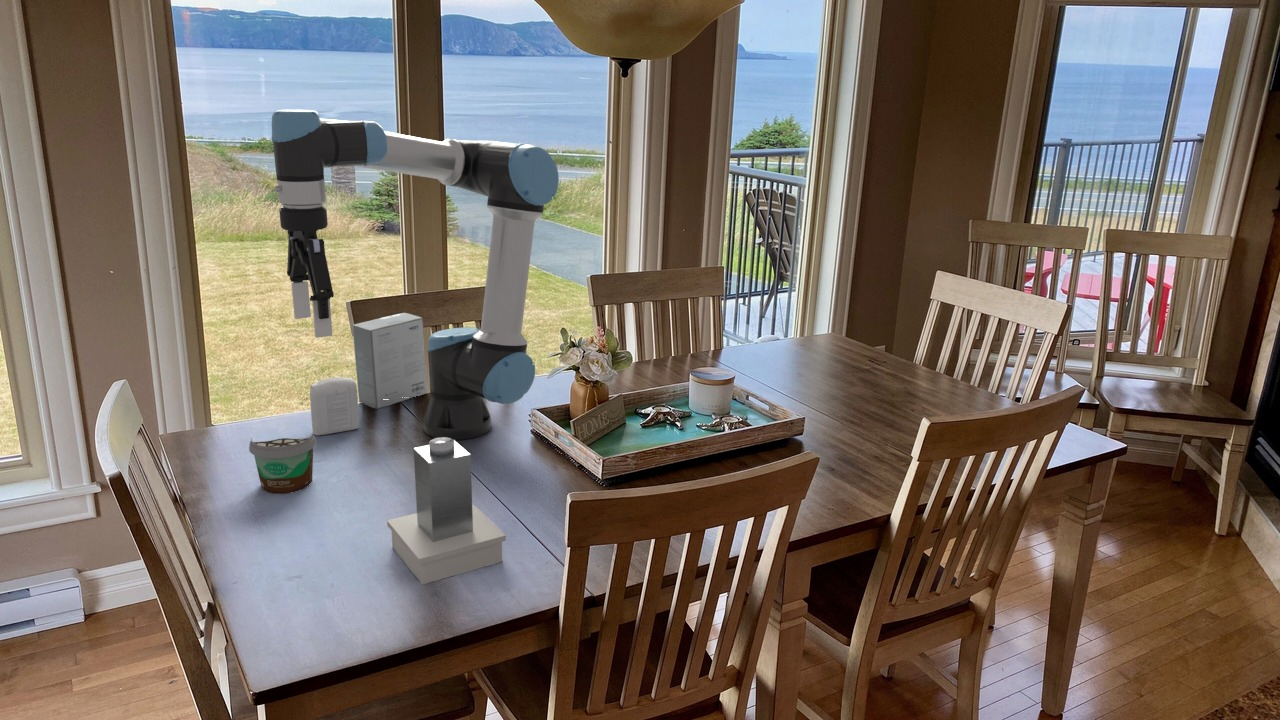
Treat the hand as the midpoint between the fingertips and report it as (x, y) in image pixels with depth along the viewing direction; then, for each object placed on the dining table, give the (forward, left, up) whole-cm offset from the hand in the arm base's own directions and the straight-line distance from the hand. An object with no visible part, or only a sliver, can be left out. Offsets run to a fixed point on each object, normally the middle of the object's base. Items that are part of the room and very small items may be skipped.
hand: (312, 326), depth 160 cm
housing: (-12, +28, -30) cm, 43 cm away
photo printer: (-12, -36, -35) cm, 52 cm away
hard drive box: (-30, -50, -35) cm, 68 cm away
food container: (+5, -11, -35) cm, 37 cm away
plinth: (-12, +28, -35) cm, 46 cm away
